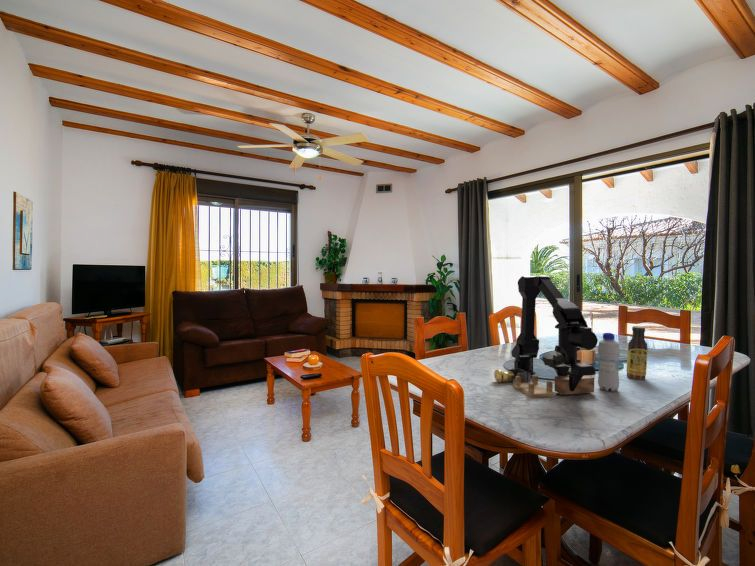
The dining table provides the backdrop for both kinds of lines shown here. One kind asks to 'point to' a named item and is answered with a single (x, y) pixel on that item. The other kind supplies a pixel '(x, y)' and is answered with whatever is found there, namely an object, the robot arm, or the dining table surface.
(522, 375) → the keeper
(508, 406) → the dining table surface
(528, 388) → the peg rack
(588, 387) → the walnut bar
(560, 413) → the dining table surface
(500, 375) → the brass bolt
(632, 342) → the sauce bottle
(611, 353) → the bottle
